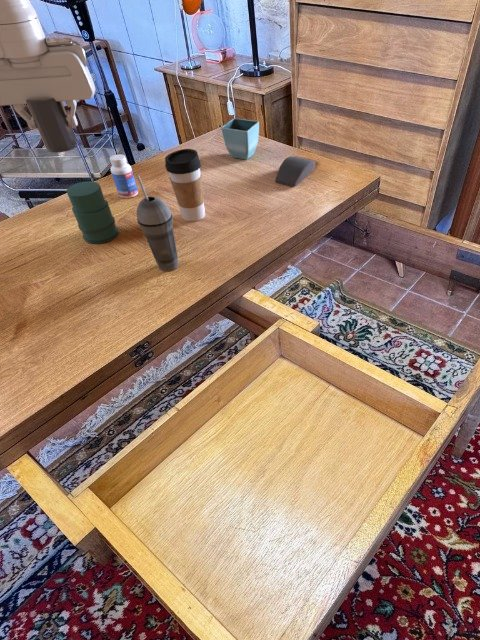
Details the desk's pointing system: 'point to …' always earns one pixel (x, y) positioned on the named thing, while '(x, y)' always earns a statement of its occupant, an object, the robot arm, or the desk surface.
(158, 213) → the beverage cup
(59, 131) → the charcoal cup
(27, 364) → the desk surface
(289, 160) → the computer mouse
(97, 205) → the cup stack
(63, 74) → the robot arm
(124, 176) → the pill bottle
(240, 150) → the flower pot
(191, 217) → the coffee cup
